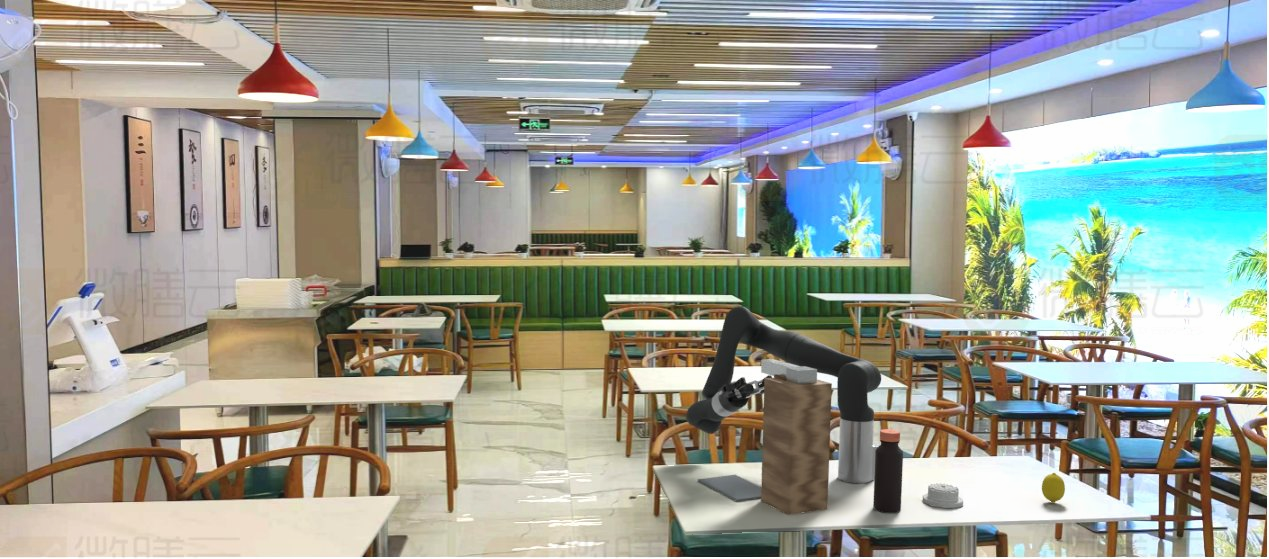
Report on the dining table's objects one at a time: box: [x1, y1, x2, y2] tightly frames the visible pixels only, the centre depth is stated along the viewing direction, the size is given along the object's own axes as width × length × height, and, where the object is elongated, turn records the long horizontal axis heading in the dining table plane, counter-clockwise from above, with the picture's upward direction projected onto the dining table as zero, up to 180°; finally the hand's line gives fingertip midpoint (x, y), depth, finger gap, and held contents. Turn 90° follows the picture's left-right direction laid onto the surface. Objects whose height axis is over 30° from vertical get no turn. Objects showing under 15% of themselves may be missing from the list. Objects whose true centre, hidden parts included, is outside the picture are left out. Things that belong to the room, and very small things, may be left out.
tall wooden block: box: [760, 374, 833, 516], centre depth 243 cm, size 12×12×33 cm
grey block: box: [760, 358, 818, 384], centre depth 246 cm, size 6×18×3 cm, turn 26°
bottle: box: [872, 428, 904, 514], centre depth 242 cm, size 7×7×20 cm
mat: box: [697, 474, 761, 503], centre depth 258 cm, size 12×20×1 cm, turn 26°
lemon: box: [1041, 472, 1066, 503], centre depth 250 cm, size 6×6×8 cm
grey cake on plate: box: [922, 482, 964, 509], centre depth 249 cm, size 10×4×10 cm
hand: (757, 379), depth 258 cm, fingers open, 8 cm apart
